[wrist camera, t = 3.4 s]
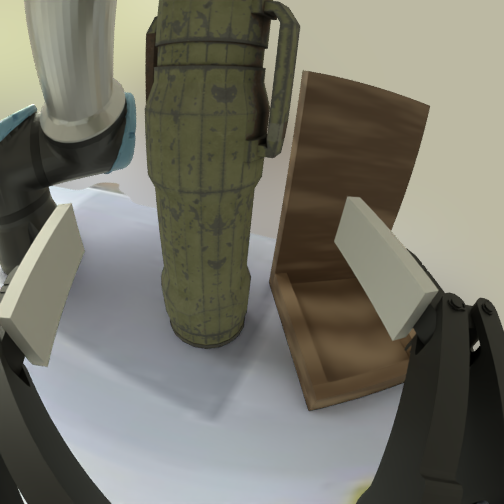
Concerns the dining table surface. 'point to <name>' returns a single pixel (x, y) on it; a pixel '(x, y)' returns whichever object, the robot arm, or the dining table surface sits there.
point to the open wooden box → (325, 229)
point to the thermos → (212, 150)
